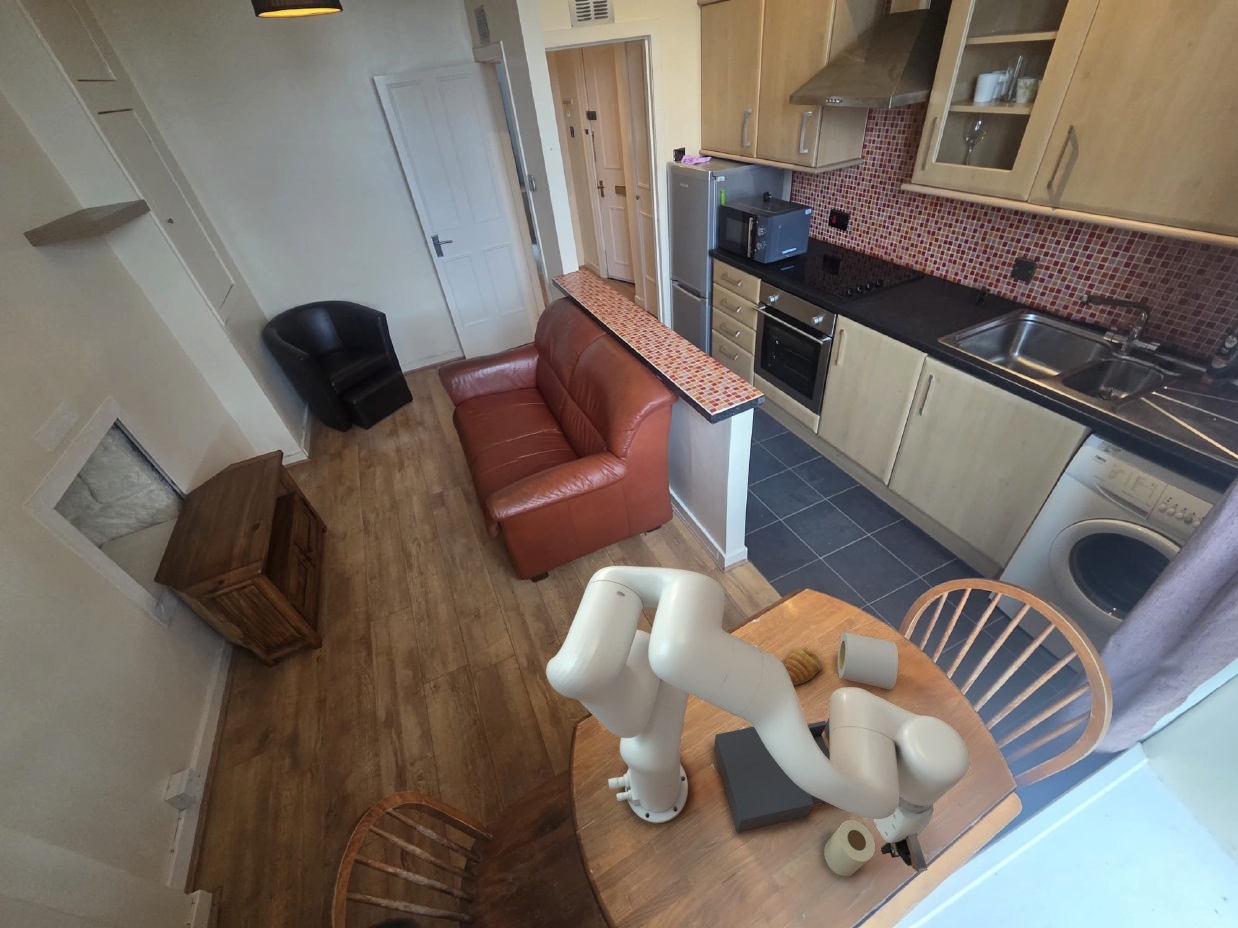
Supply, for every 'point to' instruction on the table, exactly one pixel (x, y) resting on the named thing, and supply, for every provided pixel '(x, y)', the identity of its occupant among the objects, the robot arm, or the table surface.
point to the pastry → (802, 665)
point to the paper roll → (849, 848)
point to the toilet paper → (868, 660)
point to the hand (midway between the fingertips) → (874, 812)
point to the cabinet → (756, 782)
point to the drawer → (820, 745)
